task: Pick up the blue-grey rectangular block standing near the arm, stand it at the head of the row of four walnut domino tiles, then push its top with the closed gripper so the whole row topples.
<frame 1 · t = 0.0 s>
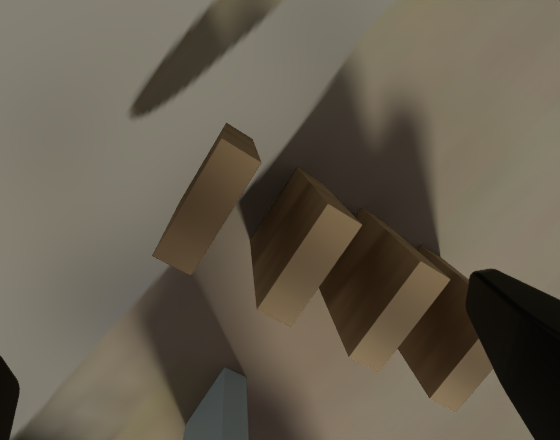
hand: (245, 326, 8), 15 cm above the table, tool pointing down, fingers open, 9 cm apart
domino 3: (348, 249, 25), on the table
blue-grey rectangular block 1: (215, 401, 27), on the table
domino 5: (215, 170, 23), on the table
domino 2: (406, 283, 26), on the table
domino 4: (285, 211, 24), on the table
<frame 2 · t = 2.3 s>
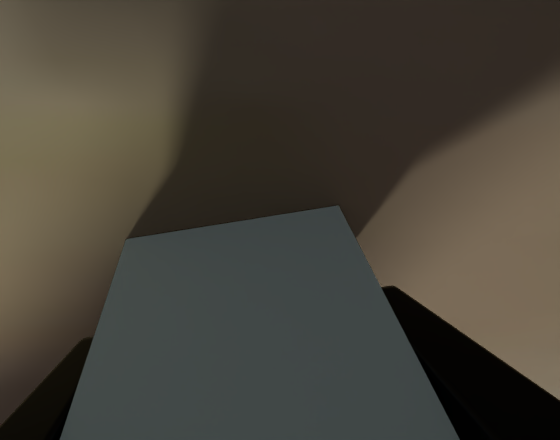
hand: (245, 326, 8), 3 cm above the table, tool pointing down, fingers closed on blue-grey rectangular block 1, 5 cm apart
blue-grey rectangular block 1: (239, 249, 10), on the table, touching gripper
when the fingers open (3 cm above the table, at t = 6.7 s): blue-grey rectangular block 1 stays where it is, on the table.
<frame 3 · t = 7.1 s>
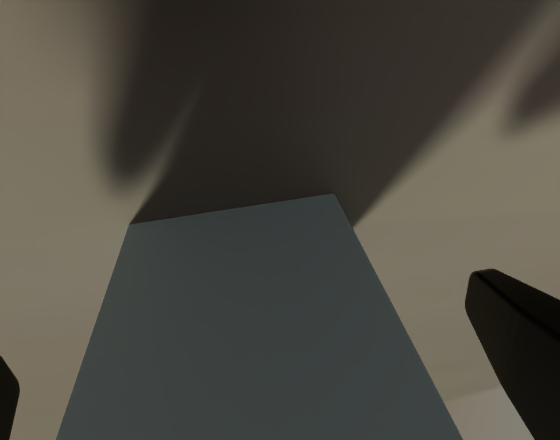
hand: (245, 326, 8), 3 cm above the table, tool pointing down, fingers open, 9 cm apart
blue-grey rectangular block 1: (238, 235, 10), on the table
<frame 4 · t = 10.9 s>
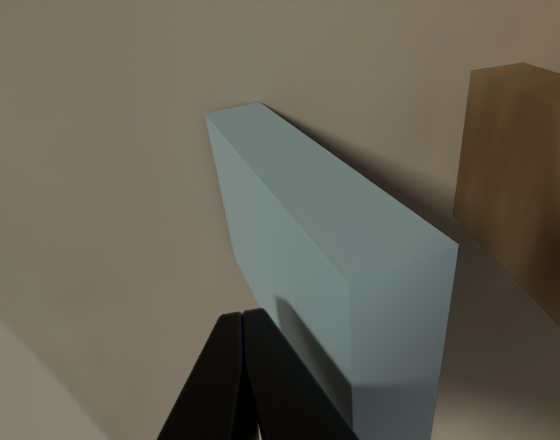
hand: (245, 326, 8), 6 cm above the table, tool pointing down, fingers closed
blue-grey rectangular block 1: (245, 186, 13), on the table, tilted 14°
domino 2: (484, 146, 14), on the table
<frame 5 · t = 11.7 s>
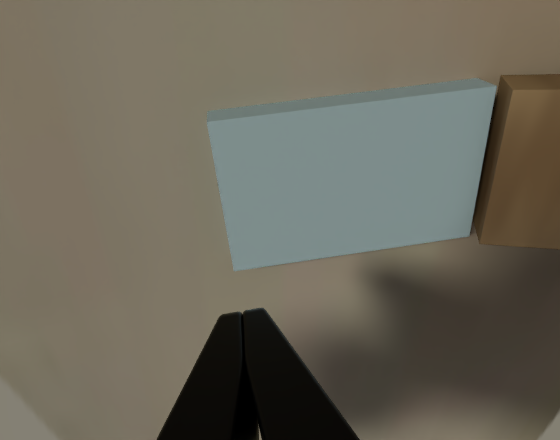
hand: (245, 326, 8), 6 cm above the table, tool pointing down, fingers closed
blue-grey rectangular block 1: (221, 192, 13), on the table, tilted 90°
domino 2: (489, 163, 13), point 1 cm above the table, tilted 69°, touching domino 3
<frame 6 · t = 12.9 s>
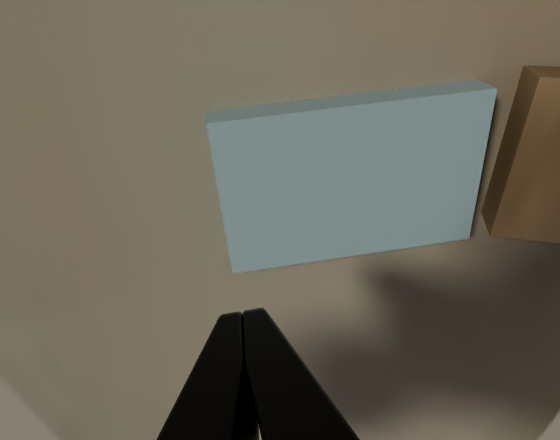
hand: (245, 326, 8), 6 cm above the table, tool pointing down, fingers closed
blue-grey rectangular block 1: (220, 194, 13), on the table, tilted 90°
domino 2: (506, 154, 13), point 1 cm above the table, tilted 70°
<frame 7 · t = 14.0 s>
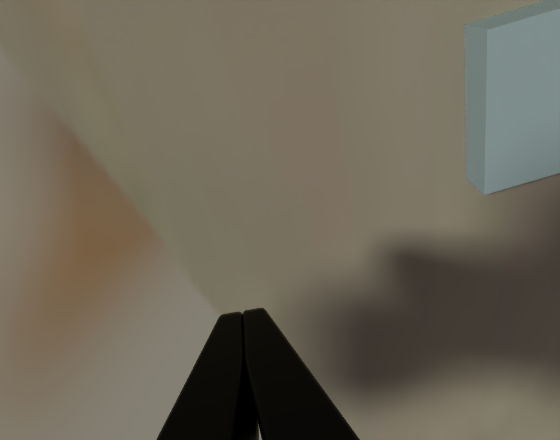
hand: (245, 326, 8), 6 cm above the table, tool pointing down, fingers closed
blue-grey rectangular block 1: (471, 113, 13), on the table, tilted 90°
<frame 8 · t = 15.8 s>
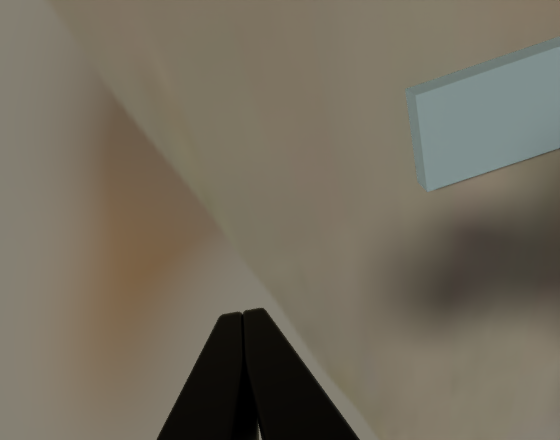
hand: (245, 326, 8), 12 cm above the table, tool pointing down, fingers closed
blue-grey rectangular block 1: (414, 140, 20), on the table, tilted 90°
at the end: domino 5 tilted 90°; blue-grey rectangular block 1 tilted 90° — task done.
